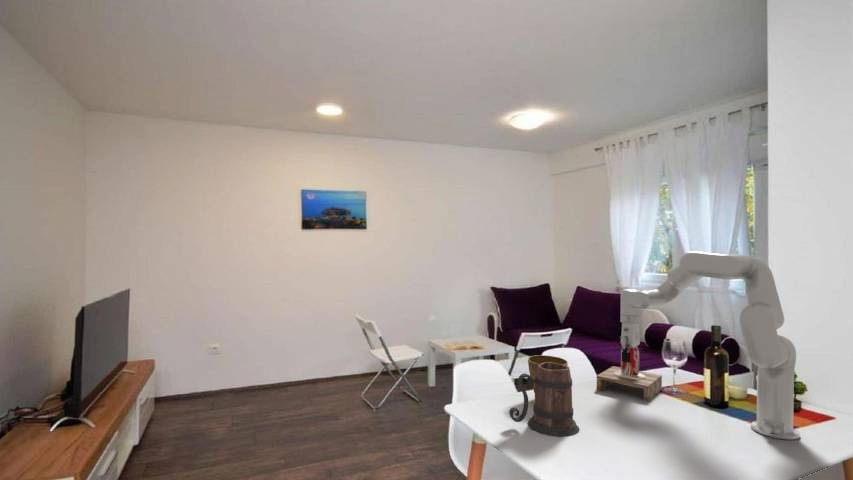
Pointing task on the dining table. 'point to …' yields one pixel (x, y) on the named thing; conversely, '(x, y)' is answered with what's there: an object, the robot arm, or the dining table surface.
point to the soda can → (631, 363)
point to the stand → (631, 381)
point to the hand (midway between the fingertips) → (629, 359)
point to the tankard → (549, 401)
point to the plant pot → (539, 359)
